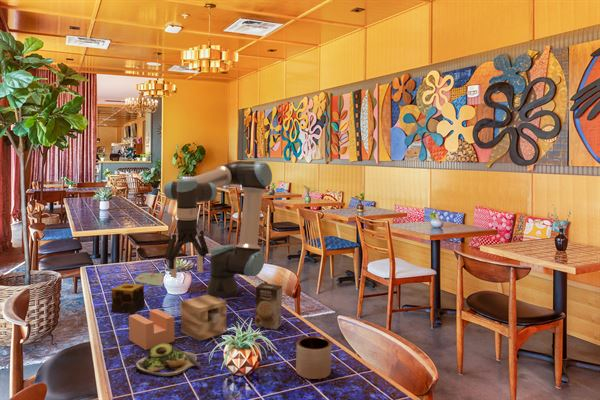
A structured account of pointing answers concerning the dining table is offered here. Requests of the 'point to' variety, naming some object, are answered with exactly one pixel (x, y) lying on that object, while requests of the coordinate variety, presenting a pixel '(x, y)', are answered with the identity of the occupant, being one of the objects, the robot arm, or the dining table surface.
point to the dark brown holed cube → (127, 298)
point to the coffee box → (268, 306)
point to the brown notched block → (202, 317)
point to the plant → (151, 278)
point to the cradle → (151, 329)
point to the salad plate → (166, 360)
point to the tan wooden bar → (211, 315)
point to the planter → (313, 357)
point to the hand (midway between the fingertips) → (187, 274)
